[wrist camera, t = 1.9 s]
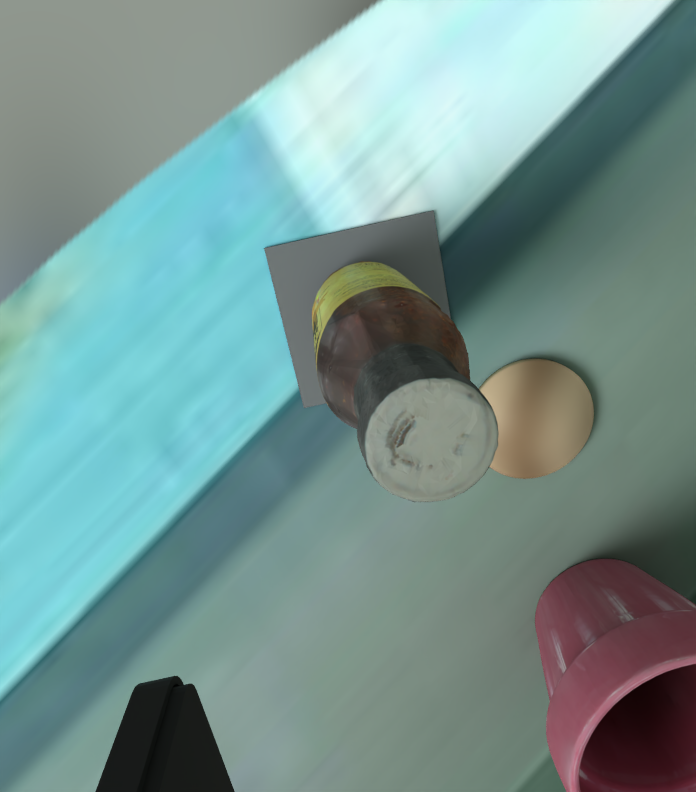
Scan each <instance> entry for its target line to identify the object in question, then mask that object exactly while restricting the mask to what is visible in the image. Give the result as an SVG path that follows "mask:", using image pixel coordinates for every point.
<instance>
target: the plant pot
mask: <svg viewBox="0 0 696 792" xmlns="http://www.w3.org/2000/svg"><path fill="white" fill-rule="evenodd" d="M535 626H536V632H537V637H538V642H539V648H540V654H541V660H542V665H543V670H544V675H545V680H546V685H547V689H548V694H549V699H550V704H549V707H548V712H547V721H546V735H547V742H548V746H549V750H550V753H551V756H552V758H553V761H554V764H555V766H556V769H557V771H558V773H559V776H560V778H561V780H562V782H563V785H564V787H565V789H566V791H567V792H696V604H694V603H693V602H691V601H690V600H688V599H687V598H685V597H684V596H682V595H681V594H679V593H677V592H676V591H674V590H673V589H671V588H670V587H668V586H666V585H665V584H663V583H662V582H660V581H658V580H657V579H655V578H654V577H652V576H650V575H649V574H647V573H646V572H644V571H643V570H641V569H640V568H638V567H637V566H635V565H632V564H630V563H628V562H625V561H621V560H616V559H594V560H589V561H586V562H583V563H580V564H577V565H575V566H573V567H571V568H569V569H567V570H566V571H564V572H563V573H561V574H560V575H558V576H557V577H556V578H555V579H554V580H553V581H552V582H551V583H550V584H549V585H548V587H547V588H546V589H545V591H544V592H543V594H542V596H541V597H540V599H539V602H538V605H537V609H536V615H535Z"/></svg>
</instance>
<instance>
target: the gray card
mask: <svg viewBox="0 0 696 792" xmlns="http://www.w3.org/2000/svg"><path fill="white" fill-rule="evenodd" d="M264 249H265V253H266V257H267V261H268V265H269V270H270V274H271V278H272V282H273V286H274V290H275V294H276V298H277V302H278V306H279V310H280V314H281V318H282V322H283V326H284V330H285V334H286V338H287V342H288V346H289V350H290V354H291V358H292V362H293V366H294V370H295V374H296V378H297V382H298V386H299V390H300V394H301V398H302V402H303V406H304V408H306V407H311V406H316V405H320V404H325V403H326V401H325V399H324V397H323V395H322V392H321V389H320V386H319V382H318V377H317V371H316V362H315V351H314V338H313V326H312V307H313V304H314V301H315V298H316V295H317V293H318V291H319V289H320V288H321V286H322V285H323V283H324V281H325V280H326V279H327V278H328V277H329V276H330V274H332V273H333V272H335V271H337V270H338V269H340V268H342V267H345V266H347V265H350V264H353V263H358V262H360V261H364V262H365V261H371V262H377V263H382V264H384V265H387V266H390V267H391V268H393V269H395V270H397V271H398V272H400V273H401V274H402V275H404V276H405V277H406V278H407V279H409V280H410V281H411V282H412V283H413V284H415V285H416V286H417V287H418V288H419V289H420V290H421V291H423V292H424V293H425V294H426V295H427V296H429V297H430V298H431V299H432V300H433V301H434V302H435V303H437V304H438V305H439V306H440V308H441V311H442V312H444V313H445V314H447V315H448V316H449V318H450V319H451V316H450V310H449V304H448V298H447V291H446V285H445V279H444V273H443V266H442V260H441V254H440V248H439V241H438V235H437V229H436V223H435V216H434V211H429V212H425V213H420V214H416V215H411V216H407V217H402V218H398V219H393V220H389V221H384V222H380V223H375V224H371V225H366V226H362V227H357V228H353V229H348V230H344V231H339V232H335V233H330V234H326V235H321V236H317V237H312V238H308V239H303V240H299V241H294V242H290V243H285V244H281V245H276V246H272V247H267V248H264Z"/></svg>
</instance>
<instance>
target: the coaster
mask: <svg viewBox="0 0 696 792" xmlns="http://www.w3.org/2000/svg"><path fill="white" fill-rule="evenodd" d="M479 390H480V391H481V392H482V394H483V395H484V396H485V397H486V399H487V400H488V402H489V403H490V405H491V406H492V408H493V411H494V413H495V416H496V419H497V423H498V433H499V435H498V447H497V450H496V451H495V455H494V458H493V461H492V463H491V465H490V466H489V467H491V468H492V469H493V470H495V471H497V472H499V473H501V474H503V475H506V476H509V477H514V478H523V479H525V478H536V477H541V476H545V475H548V474H550V473H553V472H555V471H557V470H559V469H561V468H562V467H564V466H565V465H566V464H568V463H569V462H570V461H571V460H572V459H574V458H575V457H576V455H577V454H578V453H579V452H580V451H581V449H582V448H583V447H584V445H585V443H586V441H587V439H588V437H589V435H590V432H591V429H592V425H593V419H594V407H593V401H592V398H591V394H590V392H589V390H588V388H587V386H586V385H585V383H584V382H583V380H582V379H581V378H580V377H579V376H578V375H577V374H575V373H574V372H573V371H572V370H570V369H569V368H567V367H565V366H564V365H562V364H560V363H557V362H555V361H551V360H547V359H539V358H534V359H524V360H519V361H516V362H513V363H510V364H508V365H506V366H504V367H502V368H500V369H499V370H497V371H496V372H494V373H493V374H492V375H491V376H490V377H488V378H487V379H486V380H485V381H484V383H483V384H482V385H481V386H480V388H479Z"/></svg>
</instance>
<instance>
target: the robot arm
mask: <svg viewBox="0 0 696 792" xmlns="http://www.w3.org/2000/svg"><path fill="white" fill-rule="evenodd" d="M96 792H234V789H233V786H232V784H231V781H230V778H229V776H228V773H227V770H226V768H225V765H224V762H223V760H222V757H221V754H220V752H219V749H218V746H217V744H216V741H215V738H214V736H213V733H212V730H211V728H210V725H209V722H208V720H207V717H206V714H205V712H204V709H203V706H202V704H201V701H200V698H199V696H198V693H197V690H196V688H195V686H194V685H193V684H186V685H184V684H183V682H182V680H181V679H180V678H179V677H178V676H173V677H168V678H163V679H159V680H154V681H149V682H145V683H140V684H138V685H137V686H136V687H135V688H134V690H133V692H132V695H131V697H130V700H129V703H128V705H127V708H126V711H125V714H124V716H123V719H122V722H121V724H120V727H119V730H118V732H117V735H116V738H115V741H114V743H113V746H112V749H111V751H110V754H109V757H108V759H107V762H106V765H105V768H104V770H103V773H102V776H101V778H100V781H99V784H98V786H97V789H96Z"/></svg>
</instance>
